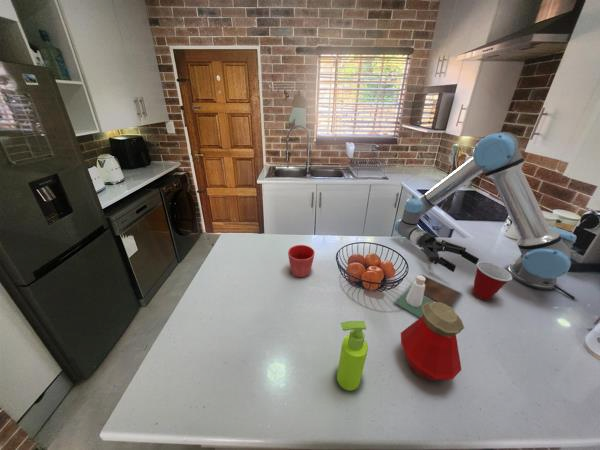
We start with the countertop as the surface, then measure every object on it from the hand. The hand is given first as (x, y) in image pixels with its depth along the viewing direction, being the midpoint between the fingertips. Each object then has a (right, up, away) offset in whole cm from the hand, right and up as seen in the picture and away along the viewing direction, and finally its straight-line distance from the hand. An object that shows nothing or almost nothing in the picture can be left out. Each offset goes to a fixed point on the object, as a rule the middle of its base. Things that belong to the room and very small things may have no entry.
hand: (466, 265), depth 97 cm
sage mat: (-23, -13, -11) cm, 28 cm away
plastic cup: (+3, -11, -4) cm, 12 cm away
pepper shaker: (-25, -12, -9) cm, 29 cm away
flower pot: (-66, -4, +5) cm, 66 cm away
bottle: (-32, -23, -29) cm, 49 cm away
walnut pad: (-14, -9, -3) cm, 17 cm away
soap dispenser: (-54, -24, -34) cm, 68 cm away
